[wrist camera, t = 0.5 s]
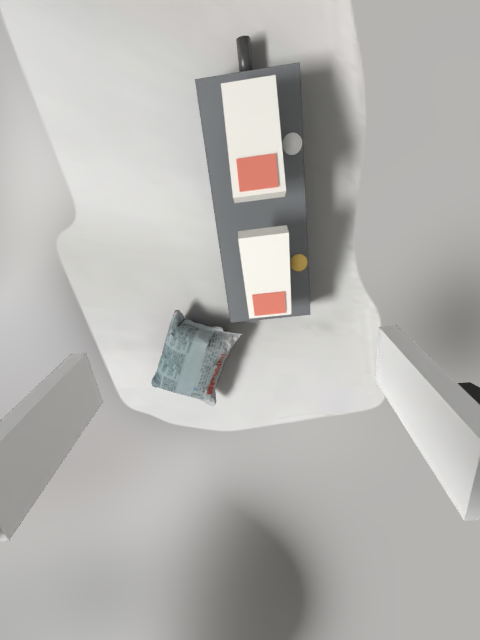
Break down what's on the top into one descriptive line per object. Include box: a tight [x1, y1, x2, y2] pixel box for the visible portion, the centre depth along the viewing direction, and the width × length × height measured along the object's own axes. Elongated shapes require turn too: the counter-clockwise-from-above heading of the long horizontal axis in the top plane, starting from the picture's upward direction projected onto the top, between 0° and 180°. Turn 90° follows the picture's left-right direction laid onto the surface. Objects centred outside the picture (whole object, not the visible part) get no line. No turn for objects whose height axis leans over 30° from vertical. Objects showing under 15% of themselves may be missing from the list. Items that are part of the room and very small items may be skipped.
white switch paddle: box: [238, 225, 291, 319], centre depth 31 cm, size 9×4×2 cm, turn 7°
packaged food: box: [152, 310, 243, 406], centre depth 40 cm, size 9×12×5 cm
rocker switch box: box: [195, 36, 310, 323], centre depth 32 cm, size 26×9×5 cm, turn 7°
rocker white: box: [221, 75, 286, 203], centre depth 26 cm, size 9×4×2 cm, turn 7°
